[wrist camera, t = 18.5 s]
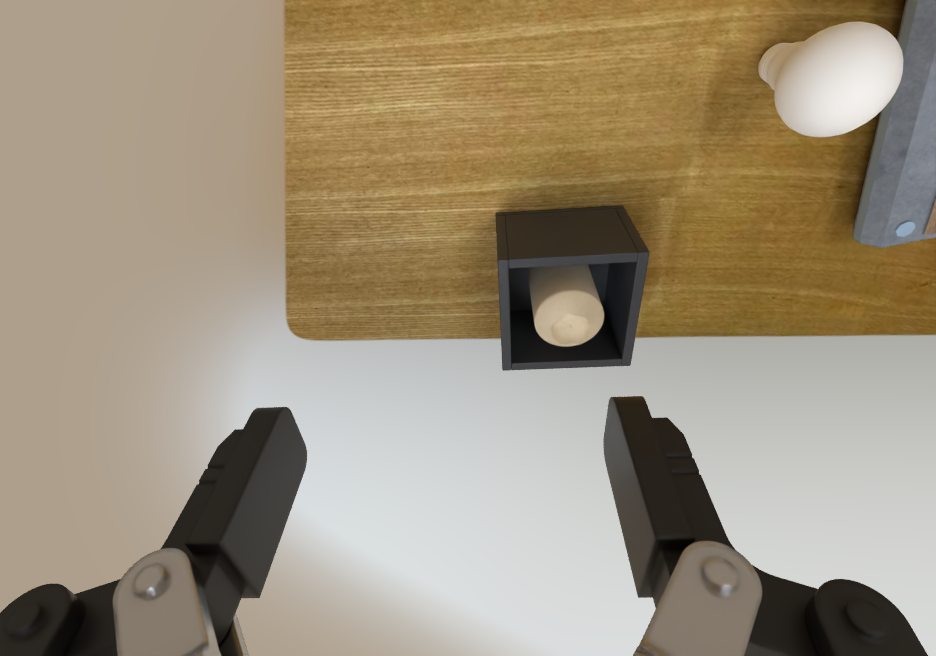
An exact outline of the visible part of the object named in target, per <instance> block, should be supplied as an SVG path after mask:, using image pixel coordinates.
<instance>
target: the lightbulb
mask: <svg viewBox="0 0 936 656" xmlns="http://www.w3.org/2000/svg"><path fill="white" fill-rule="evenodd" d="M903 60H904V59H903V54H902V50H901V47H900V45H899V43H898V42H897V40H896V39H895V38H894V36H893V35H892V34H891V33H890V32H888V31H887V30H885V29H884V28H882V27H880V26H878V25H876V24H871V23H866V22H847V23H843V24H839V25H835V26H831V27H828V28H826V29H824V30H821V31H819V32H818V33H816V34H814V35H813V36H811V37H810V38H808V39H807V40H805V41H801V42H795V43H779V44H776V45H774V46H772V47H771V48H769V49H768V50H767V51H766V52H765V53H764V55H763V56H762V58H761V60H760V62H759V66H758V72H759V76H760V77H761V78H762V79H763V80H764V81H765V82H767V83H768V84H769V86H770V87H771V88H772V89H773V90H774V91H775V93H774V97H775V106H776V109H777V112H778V114H779V115H780V117H781V118H782V120H783V122H784V123H785V124H786V125H787V126H788V127H789V128H791V129H792V130H794V131H796V132H798V133H800V134H802V135H807V136H812V137H830V136H836V135H841V134H844V133H847V132H849V131H852V130H854V129H856V128H858V127H860V126H861V125H863V124H865V123H867V122H868V121H870V120H871V119H872V118H874V117H875V116H876V115H877V114H878V113H879V112H880V111H881V110H883V109H884V107H885V106H886V105H887V104H888V103H889V101H890V100H891V98H892V97H893V95H894V94H895V92H896V90H897V88H898V86H899V84H900V81H901V77H902V73H903Z"/></svg>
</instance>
